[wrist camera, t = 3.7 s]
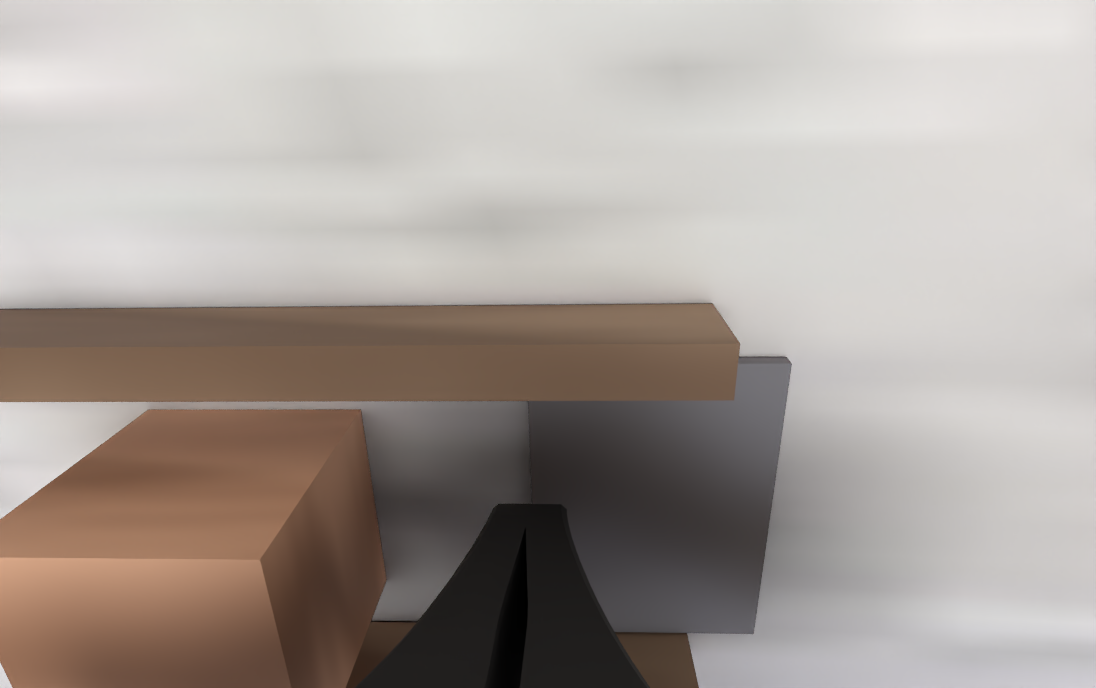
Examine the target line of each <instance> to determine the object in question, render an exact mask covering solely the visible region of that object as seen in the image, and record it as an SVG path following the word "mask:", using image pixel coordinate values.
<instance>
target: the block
mask: <svg viewBox="0 0 1096 688" xmlns="http://www.w3.org/2000/svg"><path fill="white" fill-rule="evenodd" d="M386 580H387V579H386V573H385V566H384V560H383V553H382V546H381V540H380V533H379V527H378V520H377V513H376V507H375V500H374V494H373V487H372V480H371V474H370V467H369V461H368V454H367V447H366V441H365V434H364V427H363V421H362V414H361V409H353V410H147V411H146V412H145V413H143V414H142V415H141V416H139V417H138V418H137V419H135V420H134V421H132V422H131V423H130V424H128V425H127V426H126V427H124V428H123V429H122V430H120V431H119V432H118V433H116V434H115V435H114V436H112V437H111V438H110V439H108V440H107V441H105V442H104V443H103V444H101V445H100V446H99V447H97V448H96V449H95V450H93V451H92V452H91V453H89V454H88V455H87V456H85V457H84V458H83V459H81V460H80V461H78V462H77V463H76V464H74V465H73V466H72V467H70V468H69V469H68V470H66V471H65V472H64V473H62V474H61V475H60V476H58V477H57V478H56V479H54V480H53V481H51V482H50V483H49V484H47V485H46V486H45V487H43V488H42V489H41V490H39V491H38V492H37V493H35V494H34V495H33V496H31V497H30V498H29V499H27V500H26V501H24V502H23V503H22V504H20V505H19V506H18V507H16V508H15V509H14V510H12V511H11V512H10V513H8V514H7V515H6V516H4V517H3V518H2V519H0V662H1V665H2V667H3V669H4V671H5V673H6V675H7V677H8V679H9V681H10V683H11V685H12V687H13V688H346V685H347V683H348V680H349V678H350V675H351V672H352V670H353V667H354V664H355V662H356V659H357V657H358V654H359V651H360V649H361V646H362V643H363V641H364V638H365V636H366V633H367V630H368V628H369V625H370V622H371V620H372V617H373V615H374V612H375V609H376V607H377V604H378V601H379V599H380V596H381V593H382V591H383V588H384V586H385V583H386Z"/></svg>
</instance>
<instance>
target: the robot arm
mask: <svg viewBox="0 0 1096 688" xmlns="http://www.w3.org/2000/svg"><path fill="white" fill-rule="evenodd" d="M355 688H650V686H649V685H648V684H647V682H646V681H645V679H644V678H643V676H642V675H641V673H640V672H639V670H638V669H637V667H636V666H635V664H634V663H633V661H632V660H631V658H630V657H629V655H628V653H627V652H626V650H625V649H624V647H623V645H622V644H621V642H620V640H619V639H618V637H617V635H616V634H615V632H614V630H613V628H612V627H611V625H610V623H609V621H608V619H607V617H606V615H605V614H604V612H603V610H602V608H601V606H600V604H599V602H598V600H597V598H596V596H595V594H594V592H593V589H592V587H591V585H590V583H589V580H588V578H587V576H586V573H585V571H584V569H583V566H582V564H581V562H580V559H579V556H578V554H577V551H576V548H575V545H574V542H573V539H572V535H571V532H570V528H569V524H568V518H567V509H566V508H565V507H564V506H563V505H562V504H498V505H497V506H495V507H494V508H493V510H492V512H491V514H490V516H489V518H488V520H487V522H486V524H485V526H484V527H483V529H482V531H481V533H480V534H479V536H478V538H477V539H476V541H475V543H474V544H473V546H472V548H471V549H470V551H469V552H468V554H467V555H466V557H465V558H464V560H463V561H462V563H461V564H460V566H459V567H458V569H457V570H456V572H455V573H454V575H453V576H452V578H451V579H450V580H449V582H448V583H447V584H446V586H445V587H444V588H443V590H442V591H441V592H440V594H439V595H438V596H437V598H436V599H435V600H434V601H433V603H432V604H431V605H430V607H429V608H428V609H427V611H426V612H425V613H424V614H423V616H422V617H421V618H420V619H419V620H418V622H417V623H416V624H415V625H414V626H413V627H412V629H411V630H410V631H409V632H408V633H407V634H406V635H405V637H404V638H403V639H402V640H401V641H400V642H399V643H398V644H397V645H396V646H395V648H394V649H393V650H392V651H391V652H390V653H389V654H388V655H387V656H386V657H385V658H384V659H383V660H382V661H381V662H380V663H379V664H378V665H377V666H376V667H375V668H374V669H373V670H372V671H371V672H370V673H369V674H368V675H367V676H366V677H365V678H364V679H363V680H362V681H361V682H360V683H359V684H358V685H357V686H356V687H355Z"/></svg>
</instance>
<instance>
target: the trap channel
mask: <svg viewBox="0 0 1096 688" xmlns="http://www.w3.org/2000/svg"><path fill="white" fill-rule="evenodd" d="M739 349H740V343H739V341H738V340H737V338H736V337H735V335H734V334H733V333H732V331H731V330H730V328H729V327H728V325H727V324H726V322H725V321H724V319H723V318H722V317H721V315H720V314H719V312H718V311H717V309H716V308H715V306H714V305H713V304H605V305H482V306H359V307H235V308H112V309H0V402H203V401H528V406H529V434H530V462H531V489H532V504H562V505H563V506H564V507H565V508H566V509H567V518H568V524H569V528H570V532H571V535H572V539H573V542H574V545H575V548H576V551H577V554H578V556H579V559H580V562H581V564H582V566H583V569H584V571H585V573H586V576H587V578H588V580H589V583H590V585H591V587H592V589H593V592H594V594H595V596H596V598H597V600H598V602H599V604H600V606H601V608H602V610H603V612H604V614H605V615H606V617H607V619H608V621H609V623H610V625H611V627H612V628H613V630H614V632H615V634H616V635H617V637H618V639H619V640H620V642H621V644H622V645H623V647H624V649H625V650H626V652H627V653H628V655H629V657H630V658H631V660H632V661H633V663H634V664H635V666H636V667H637V669H638V670H639V672H640V673H641V675H642V676H643V678H644V679H645V681H646V682H647V684H648V685H649V686H650V688H699V687H698V682H697V678H696V673H695V669H694V664H693V659H692V655H691V650H690V645H689V641H688V636H687V633H726V634H754V627H755V620H756V613H757V605H758V598H759V591H760V584H761V577H762V570H763V563H764V556H765V549H766V542H767V535H768V528H769V521H770V514H771V507H772V499H773V492H774V485H775V478H776V471H777V464H778V457H779V450H780V443H781V436H782V429H783V422H784V415H785V408H786V401H787V393H788V386H789V379H790V372H791V365H792V363H791V362H790V361H789V360H788V358H787V357H739ZM416 623H417V622H370V625H369V628H368V630H367V633H366V636H365V638H364V641H363V643H362V646H361V649H360V651H359V654H358V657H357V659H356V662H355V664H354V667H353V670H352V672H351V675H350V678H349V680H348V683H347V685H346V688H355V687H356V686H357V685H358V684H359V683H360V682H361V681H362V680H363V679H364V678H365V677H366V676H367V675H368V674H369V673H370V672H371V671H372V670H373V669H374V668H375V667H376V666H377V665H378V664H379V663H380V662H381V661H382V660H383V659H384V658H385V657H386V656H387V655H388V654H389V653H390V652H391V651H392V650H393V649H394V648H395V646H396V645H397V644H398V643H399V642H400V641H401V640H402V639H403V638H404V637H405V635H406V634H407V633H408V632H409V631H410V630H411V629H412V627H413V626H414V625H415V624H416Z"/></svg>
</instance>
